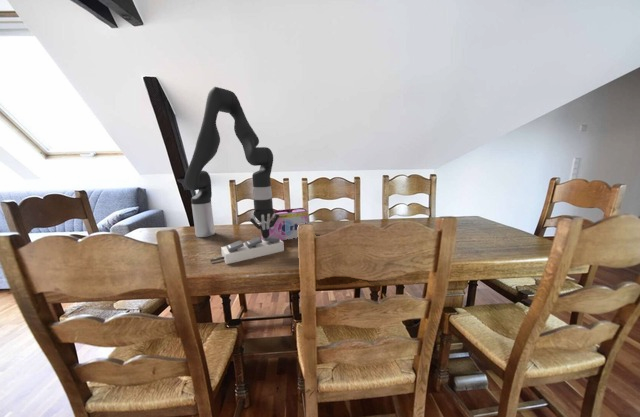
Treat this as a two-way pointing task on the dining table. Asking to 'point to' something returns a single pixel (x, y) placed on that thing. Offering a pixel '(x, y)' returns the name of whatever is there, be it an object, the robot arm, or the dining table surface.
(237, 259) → the power strip
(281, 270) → the dining table surface
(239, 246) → the rocker
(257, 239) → the rocker
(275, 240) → the rocker
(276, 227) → the gum box
